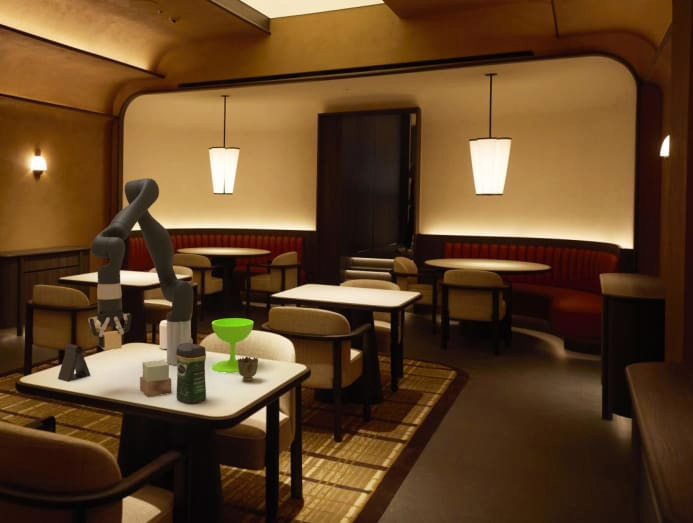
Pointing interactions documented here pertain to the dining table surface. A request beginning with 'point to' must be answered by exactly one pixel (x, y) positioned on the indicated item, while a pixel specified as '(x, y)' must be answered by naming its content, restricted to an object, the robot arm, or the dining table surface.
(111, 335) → the tan wooden cube
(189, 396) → the coffee jar
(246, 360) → the cup
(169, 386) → the walnut base block
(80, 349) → the dark grey a-frame stand
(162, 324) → the beverage can
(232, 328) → the wineglass
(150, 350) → the dining table surface
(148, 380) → the sage top block
